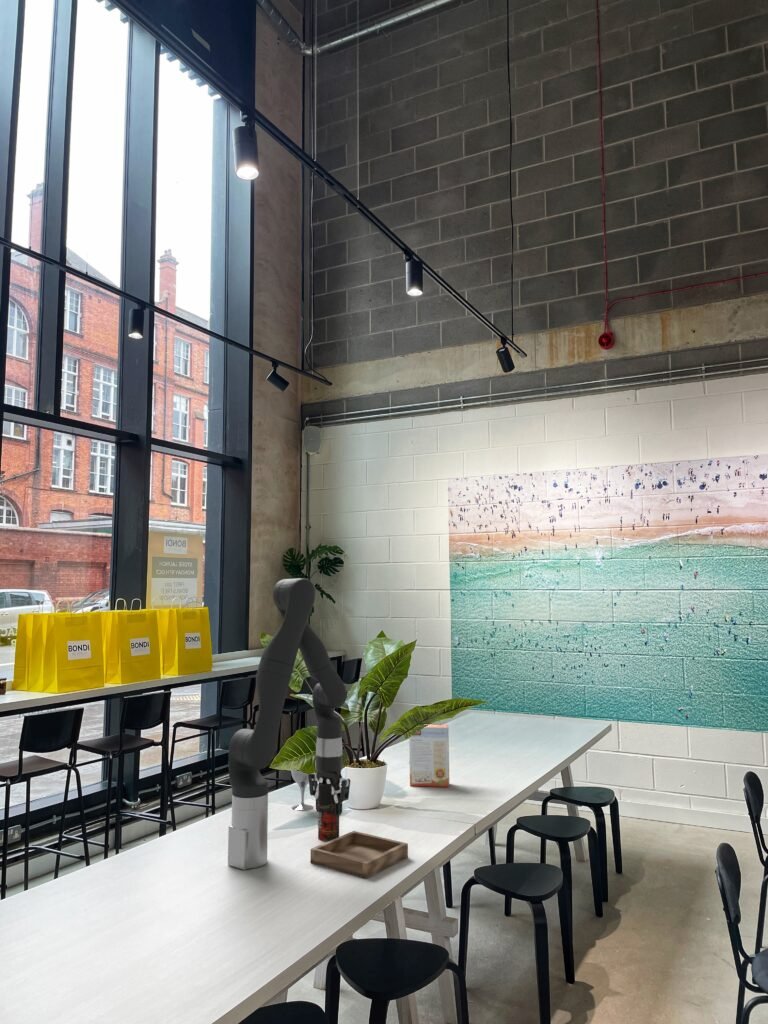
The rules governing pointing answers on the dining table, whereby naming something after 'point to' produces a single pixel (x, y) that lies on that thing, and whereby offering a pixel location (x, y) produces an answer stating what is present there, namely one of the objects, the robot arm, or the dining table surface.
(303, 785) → the wine glass
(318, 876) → the dining table surface
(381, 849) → the tray
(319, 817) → the deodorant
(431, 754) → the cracker box
